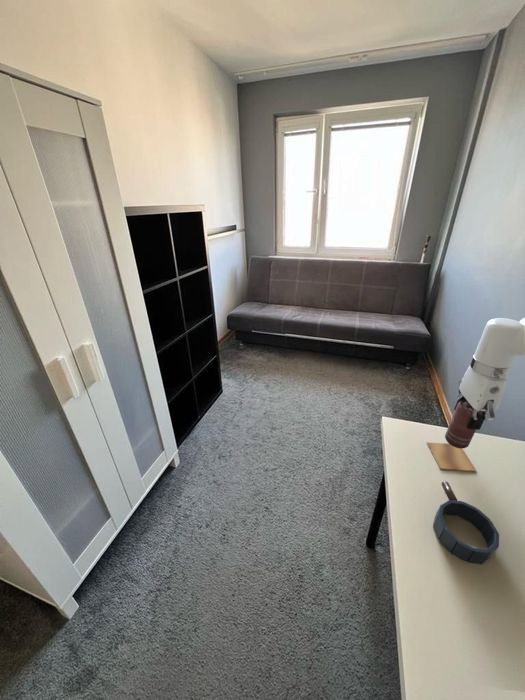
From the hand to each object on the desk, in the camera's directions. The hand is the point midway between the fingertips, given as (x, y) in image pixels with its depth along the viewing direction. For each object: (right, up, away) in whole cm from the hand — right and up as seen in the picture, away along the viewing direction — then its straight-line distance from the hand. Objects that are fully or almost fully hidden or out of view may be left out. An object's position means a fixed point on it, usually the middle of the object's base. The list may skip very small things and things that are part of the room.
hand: (466, 419), depth 79 cm
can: (0, -8, +5) cm, 9 cm away
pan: (-10, -24, -10) cm, 27 cm away
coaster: (+1, -14, +8) cm, 16 cm away
